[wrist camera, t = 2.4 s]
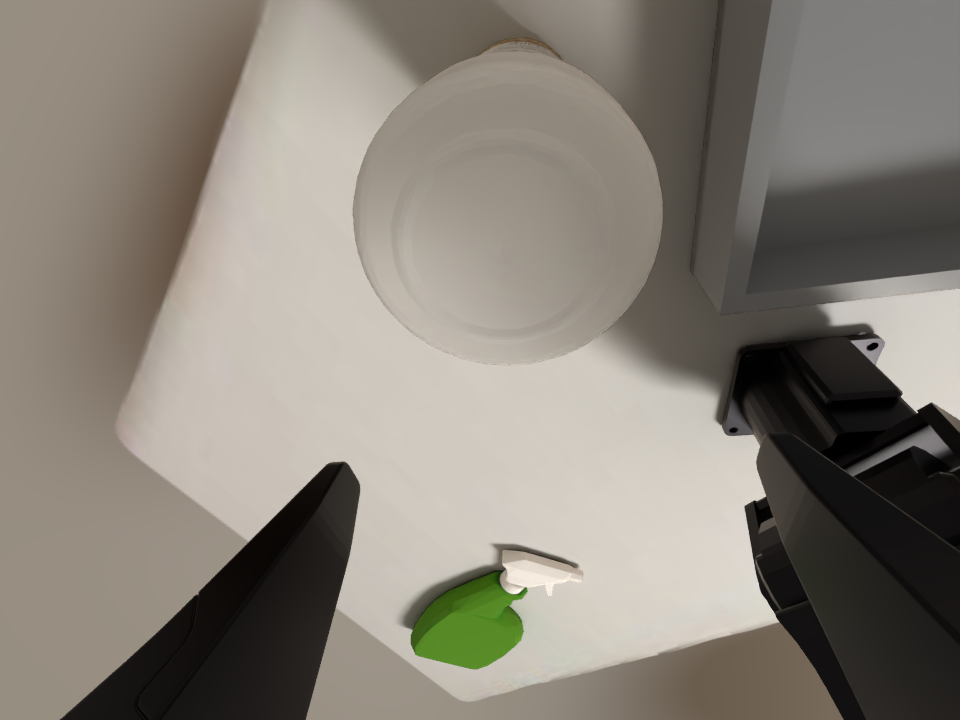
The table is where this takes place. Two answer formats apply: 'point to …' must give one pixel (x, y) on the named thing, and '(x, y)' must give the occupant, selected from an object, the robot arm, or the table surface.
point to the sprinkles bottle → (508, 208)
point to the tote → (830, 153)
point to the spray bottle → (485, 612)
